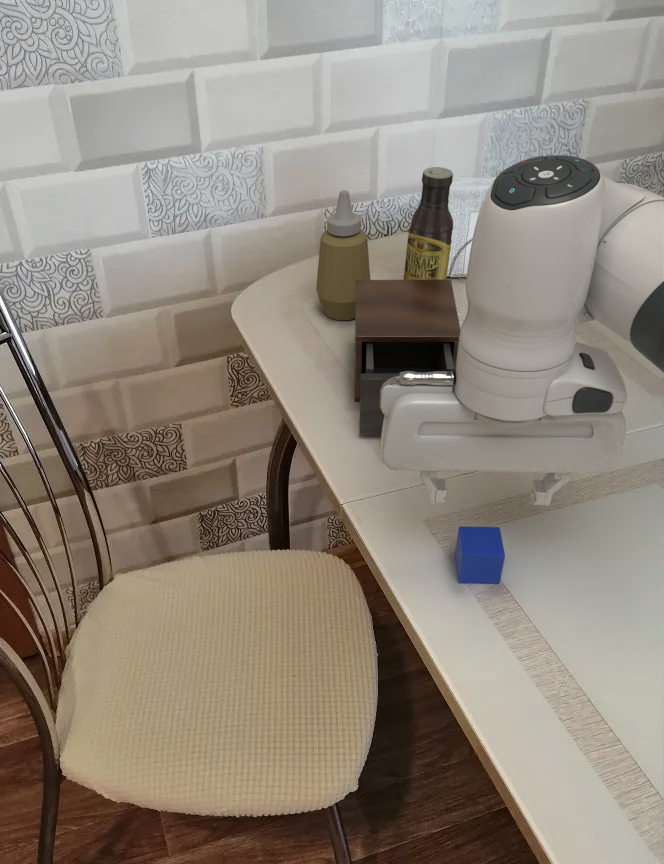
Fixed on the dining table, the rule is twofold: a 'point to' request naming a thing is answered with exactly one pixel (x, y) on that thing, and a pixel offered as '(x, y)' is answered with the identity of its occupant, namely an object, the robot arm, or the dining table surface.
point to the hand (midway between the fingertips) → (487, 500)
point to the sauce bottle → (430, 229)
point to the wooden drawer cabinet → (403, 316)
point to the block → (479, 555)
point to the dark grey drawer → (395, 373)
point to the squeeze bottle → (342, 261)
